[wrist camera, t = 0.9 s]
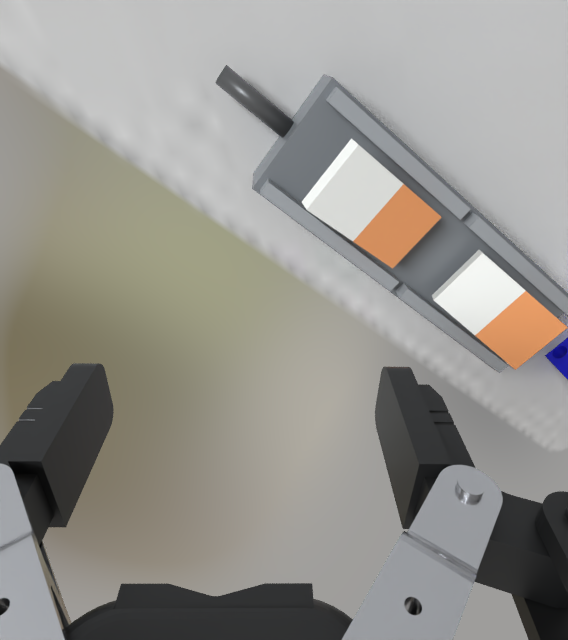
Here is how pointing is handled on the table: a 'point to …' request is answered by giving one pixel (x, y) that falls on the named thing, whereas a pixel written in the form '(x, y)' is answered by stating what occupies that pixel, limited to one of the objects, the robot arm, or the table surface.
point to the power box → (374, 137)
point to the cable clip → (560, 357)
